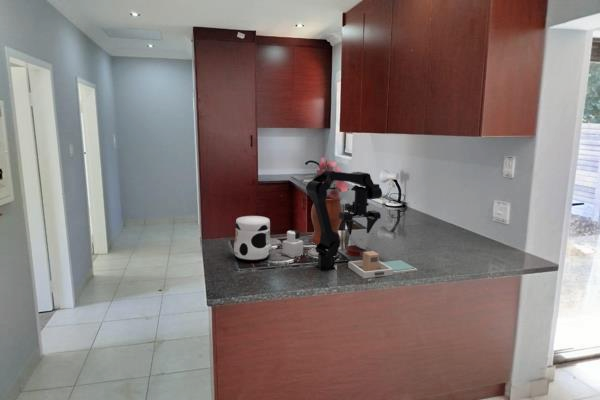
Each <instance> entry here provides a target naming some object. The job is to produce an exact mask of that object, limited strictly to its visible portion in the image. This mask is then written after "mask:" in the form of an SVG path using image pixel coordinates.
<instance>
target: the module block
mask: <svg viewBox="0 0 600 400" xmlns="http://www.w3.org/2000/svg"><path fill="white" fill-rule="evenodd" d="M362 260H363V262H362V266H361V269H362V270H364V271H374V270H379V261H380V254H379V253H377V252H376V251H374V250H370V251H368V250H367V252H363V257H362Z"/></svg>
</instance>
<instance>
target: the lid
mask: <svg viewBox="0 0 600 400" xmlns="http://www.w3.org/2000/svg"><path fill="white" fill-rule="evenodd" d="M381 262H382V263H384V264H385V265H387V266H389V267H391V268H392V269H393V275H396V274H402V273H403V274H405V273H412V272H418V269H417V268H416V267H414V266H412V265H410V264H409V263H407V262H406V261H403V260H400V259H399V260H388V261H381Z"/></svg>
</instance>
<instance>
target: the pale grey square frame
mask: <svg viewBox="0 0 600 400" xmlns="http://www.w3.org/2000/svg"><path fill="white" fill-rule="evenodd" d="M362 262H363V259H362V260H359V259H358V260H352V261H348V262H347V268H349V269H350V270H352V271H353V272H354V273H355V274H357V275H358V276H360V277H361V278H363V279H369V278H370V279H371V278H377V277H378V278H380V277H387V276H393V275H394V274H393V269H392V268H391V267H389V266H387V265H385V264H384V263H382V262H383V261H380V260H379V267H378V270H374V271H364V270H362Z"/></svg>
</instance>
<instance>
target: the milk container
mask: <svg viewBox="0 0 600 400" xmlns="http://www.w3.org/2000/svg"><path fill="white" fill-rule="evenodd" d="M270 220H271V219H270V218H268V217H265V216H260V215H245V216H240V217H237V218H236V221H235V240H234V244H233V253H234V256H235V257H236V258H237V259H240V260H243V261H246V262H248V261H249V262H254V261H257V262H258V261H264V260H265V258H266V259H267V257H268V258H269V257H270V256H271V254H272V241H271V221H270Z"/></svg>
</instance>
